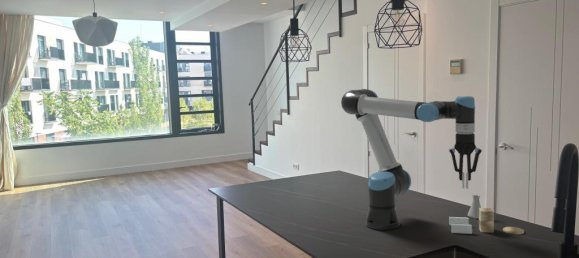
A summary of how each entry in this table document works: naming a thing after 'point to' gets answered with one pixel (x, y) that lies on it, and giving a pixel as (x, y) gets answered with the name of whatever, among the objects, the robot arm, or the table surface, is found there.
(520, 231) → the coaster
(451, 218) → the channel
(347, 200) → the table surface
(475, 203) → the flask
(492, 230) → the block
